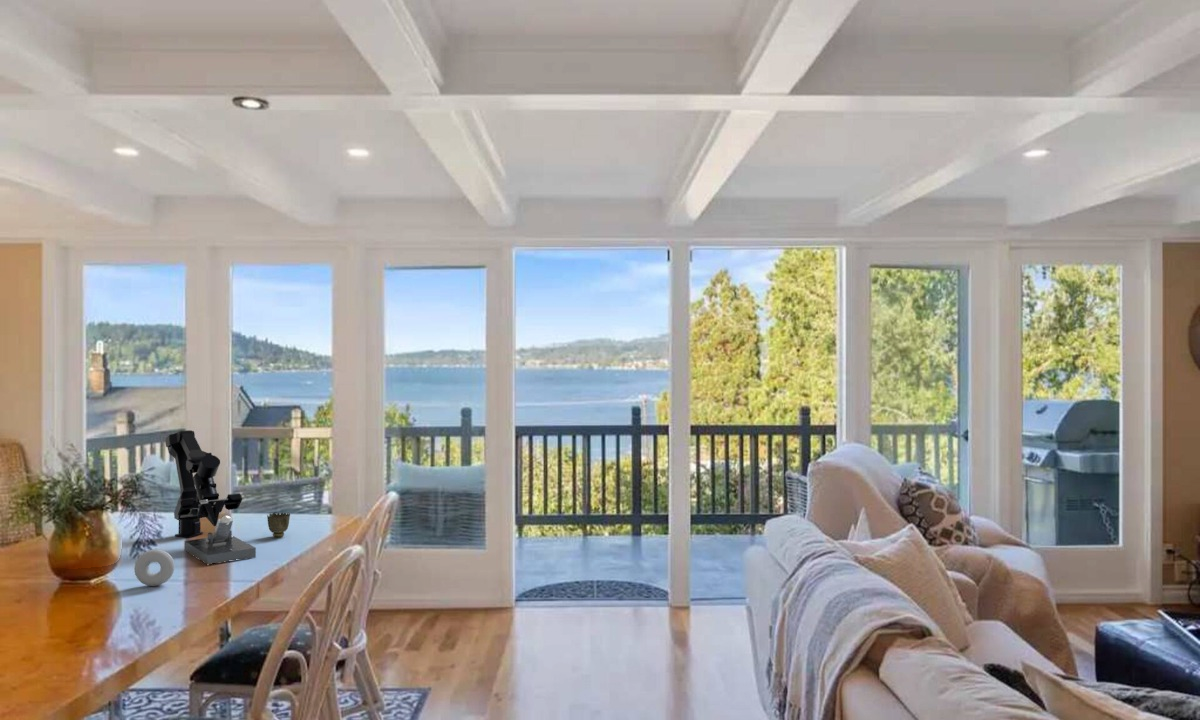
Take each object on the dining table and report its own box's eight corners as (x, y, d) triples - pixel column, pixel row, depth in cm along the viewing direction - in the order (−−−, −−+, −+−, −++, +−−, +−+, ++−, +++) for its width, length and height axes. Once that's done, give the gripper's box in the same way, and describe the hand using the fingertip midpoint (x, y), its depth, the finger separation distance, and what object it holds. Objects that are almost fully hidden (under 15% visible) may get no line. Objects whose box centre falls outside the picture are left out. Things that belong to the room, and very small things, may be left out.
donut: (176, 583, 208) (176, 547, 208) (171, 586, 205) (172, 550, 205) (137, 584, 206) (137, 548, 206) (131, 588, 203) (132, 551, 203)
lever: (211, 539, 240) (218, 514, 235) (224, 537, 242) (232, 512, 237) (213, 546, 238) (220, 521, 233) (226, 544, 241) (234, 519, 236)
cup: (284, 539, 259) (284, 516, 259) (263, 539, 260) (263, 516, 260) (293, 534, 267) (293, 512, 267) (272, 534, 267) (273, 511, 267)
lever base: (184, 550, 244) (184, 528, 244) (230, 543, 253) (230, 522, 253) (207, 565, 226) (207, 542, 226) (255, 557, 236) (255, 535, 236)
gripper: (229, 497, 262) (239, 535, 254) (169, 504, 249) (178, 544, 241) (237, 478, 256) (248, 516, 248) (176, 484, 243) (186, 524, 235)
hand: (215, 525), depth 243 cm, fingers closed
